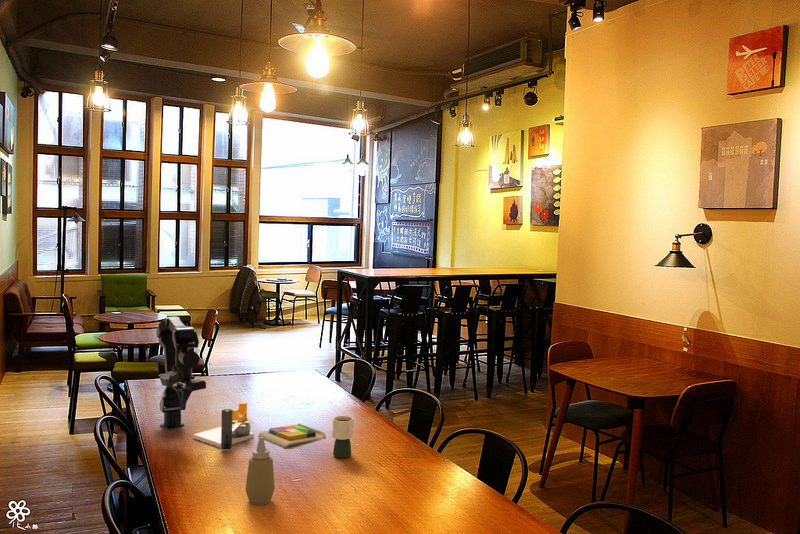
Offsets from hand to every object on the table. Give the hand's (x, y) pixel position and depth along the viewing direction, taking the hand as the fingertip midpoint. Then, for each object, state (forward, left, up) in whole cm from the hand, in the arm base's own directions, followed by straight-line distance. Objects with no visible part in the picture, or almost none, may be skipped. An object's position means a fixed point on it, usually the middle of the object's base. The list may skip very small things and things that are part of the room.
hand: (183, 405), depth 223 cm
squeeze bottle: (+61, -18, -12) cm, 65 cm away
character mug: (+55, +24, -12) cm, 61 cm away
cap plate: (+10, +10, -12) cm, 19 cm away
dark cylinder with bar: (+18, +8, -11) cm, 23 cm away
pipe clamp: (-2, +25, -12) cm, 28 cm away
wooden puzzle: (+28, +27, -13) cm, 41 cm away
